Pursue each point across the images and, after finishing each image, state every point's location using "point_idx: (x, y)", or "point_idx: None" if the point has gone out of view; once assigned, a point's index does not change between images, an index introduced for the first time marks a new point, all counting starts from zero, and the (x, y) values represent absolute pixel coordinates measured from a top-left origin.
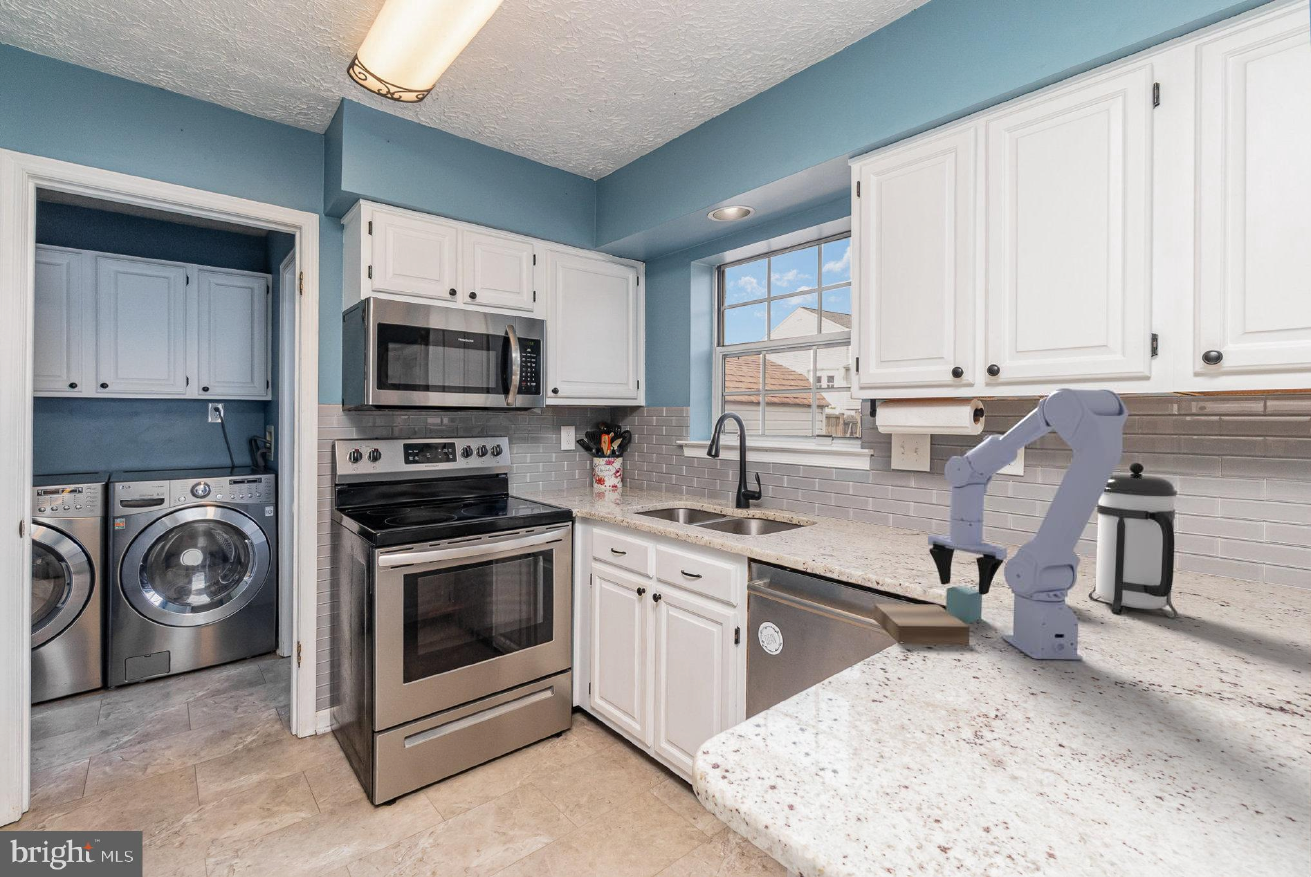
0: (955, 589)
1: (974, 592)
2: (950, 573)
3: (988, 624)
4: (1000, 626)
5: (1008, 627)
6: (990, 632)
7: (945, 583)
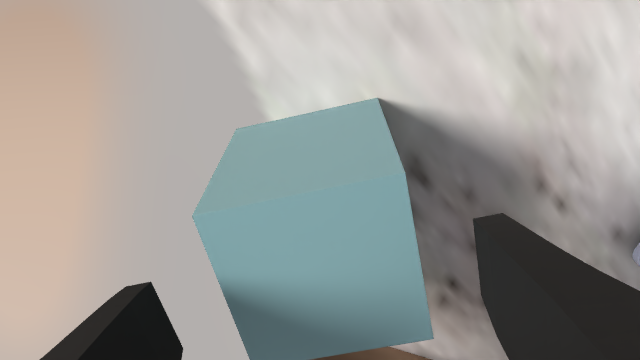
0: (291, 332)
1: (412, 268)
2: (103, 334)
3: (465, 142)
4: (520, 104)
5: (556, 73)
6: (547, 231)
7: (172, 337)
